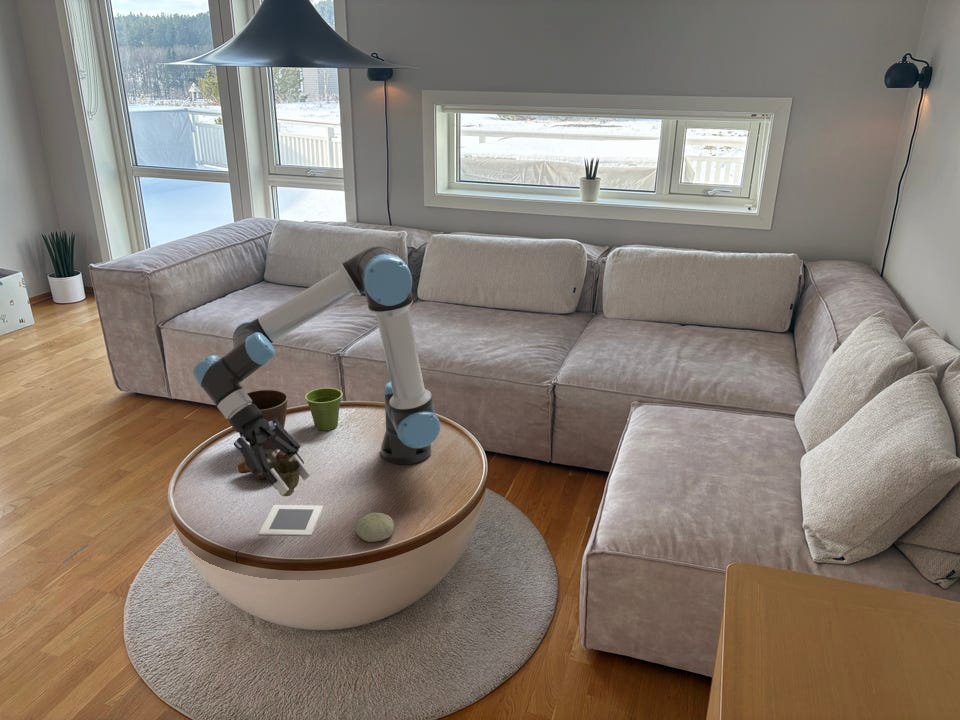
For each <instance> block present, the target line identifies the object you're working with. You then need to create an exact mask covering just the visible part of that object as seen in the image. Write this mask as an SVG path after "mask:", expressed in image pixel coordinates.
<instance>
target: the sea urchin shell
mask: <svg viewBox="0 0 960 720" xmlns="http://www.w3.org/2000/svg"><path fill="white" fill-rule="evenodd" d="M394 529H395V522H394V520H393V519H392V517H391V516H389V515H388V514H386V513H384V512H383V513H382V512H374V511H373V512H370V513H367V514H365V515H363V516H362V517H361V518H360V519H359V520H357V521H356V524H355V532H356V534H357V535H358V537H359V538H360V539H362V540H363V541H365V542H367V543H368V542H369V543H373V542H376V543H377V542H378V541H379V542H380V541H384V540H387V539H389V538H390V537H391V536H392V534H393V533H394Z"/></svg>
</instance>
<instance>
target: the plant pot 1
mask: <svg viewBox="0 0 960 720" xmlns="http://www.w3.org/2000/svg"><path fill="white" fill-rule="evenodd" d="M246 393H247V394H248V396H249V397H250V398H251V400H252V404H255V405H256V406H257V408H258V409H259V410H260V411H261V413H262V416H263V418H264V419H265V420H266V421H268V422H269V421H273V420H274V419H275V418H276V419H278V421H279V423H280V425H281V426H282V427H283V428H284V429H285V425H286V419H287V410H288V395H287V394H285V392H283V391H280V390H275V389H261V390H260V389H259V390H256V391H255V390H254V391H250V392H246ZM262 447H263V450H265V449H270V450H274V451H276V450H278V449H277V448H276V447H274V446H273V445H272V444H270V443H266V442H265V441H264V442H262Z"/></svg>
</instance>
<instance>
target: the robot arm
mask: <svg viewBox="0 0 960 720" xmlns="http://www.w3.org/2000/svg"><path fill="white" fill-rule="evenodd" d="M412 288H413V277H412V273H411V270H410V268H409V266H408V265H407V263H406V262H405V260H403V259H401V258H400V257H399V256H398V255H397V254H396V252H395V251H393V250H392V249H390V248H388V247H385V246H381V245H378V246H371V247H369V248H366V249H364V250H362V251H361V252H359V253H357V254H356V255H354V256H352V257H351V258H349V259H348V260H345V261H344V262H342V263H341V264H340V267H339V269H338V270H336V271H335V272H333V273H331V274H330V275H328V276H325V278H323V279H321V280H320V281H317V282H316V283H314V284H313V285H312V286H310V287H308V288H306V289H305V290H303V291H301V292H299V293H298V294H296V295H295V296H292V297H291V298H289V299H288V300H285V301H284V302H283V303H280V304H279V305H277V306H276V307H274V308H272V309H271V310H268V311H267V312H266V313H264V314H262V315H261V316H258V317H257V318H255V319H254V320H251V321H243V322H241V323H240V324H238V325H237V326H236V328H235V330H234V331H233V336H232V342H233V349H231V350H230V351H229V352H228V353H226V354H225V355H224V356H222V357H219V356H218V355H216V354H213V355H209V356H207V357H206V358H204V359H202V360H200V361H199V362H198V363H197V364H196V365H195V366H194V367H193V370H192V374H193V376H194V378H195V379H196V382H198V384H199V386H200V387H201V388H202V389H203V391H204V392H205V393H206V395H207V396H208V397H209V398H210V400H211V401H212V402H213V403H214V404H215V406H216V408H218V410H219V411H220V412H221V414H222V415H223V417H224V418H225V419H226V420H229V421H228V423H229V424H230V425H231V427H232V428H233V430H234V432H236V433H239V436H240V437H238V438H237V439H236V440H235V441H234V442H233V446H234V448H236V449H237V450H239V452H240V454H241V455H242V457H243V459H244V461H246V462H247V464H248V466H249V468H250V469H251V471H252V473H253V474H254V475H253V474H252V473H251V474H252V475H253V476H254V477H255V476H258V475H260V476H263V475H264V476H265V478H264V479H266V480H267V482H268V483H269V485H270V486H273V485H274V486H275V487H276V488H275V487H274V486H273V487H274V488H275V490H277V491H278V494H279V495H280V494H281V495H283V494H285V493H286V492H287V491H288V490H289V488H288V487H287V485H286V484H285V483H284V481H283V480H282V479H281V478H280V476H279V475H278V474H277V472H276V471H275V470H274V468H272V469H271V470H269V469H270V468H269V465H268V462H267V459H266V456H265V453H264V450H263V447H262V442H264V441H265V442H266V443H270V444H272V445H273V446H274V447H276V448H277V449H276V450H278V451H282V452H283V453H284V454H286V455H287V456H289V457H290V459H289V462H290V461H291V462H292V460H293V459H294V460H295V461H298V462H299V464H300V473H299V477H301V479H302V480H303V481H306V480H307V479H308V478H309V477H310V476H311V475H312V473H311V472H310V470H309V469H308V468H307V467H306V465H305V461H304V459H303V458H302V457H301V456H300V455H299V454H298V453H299V451H300V450H299V449H301V445H300V443H299V442H298V441H296V440H295V438H294V437H293V436H292V435H291V434H290V433H289V432H288V431H287V430H286V429H285V427H284V428H283V427H282V426H281V425H280V423H279V421H278V419H276V418H275V419H274V420H273V421H269V422H268V421H266V420H265V419H264V418H263V416H262V413H261V411H260V410H259V409H258V408H257V406H256V405H255V404H252V400H251V398H250V397H249V396H248V394H247V393H248V392H246V390H245V389H244V388H243V386H241V384H240V383H241V382H243V381H244V380H246V379H247V378H248V377H249V376H251V375H252V374H253V373H255V372H256V371H257V370H259V369H260V368H261V367H263V366H264V365H266V364H268V362H269V361H270V360H271V359H272V358H273V357H274V356H275V354H276V349H275V348H274V346H273V343H274V342H276V341H278V340H279V339H280V338H283V337H284V336H286V335H288V334H290V333H291V332H293V331H295V330H296V329H298V328H300V327H301V326H303V325H304V324H307V323H308V322H309V321H312V320H313V319H315V318H317V317H318V316H320V315H322V314H323V313H325V312H326V311H328V310H330V309H332V308H333V307H336V306H337V305H338V304H340V303H342V302H343V301H345V300H347V299H348V298H350V297H352V296H354V295H357V296H361V295H363V294H365V299H366V302H367V303H366V304H367V308H368V311H369V312H371V313H373V314H375V316H376V320H377V321H376V322H377V325H378V330H379V335H380V339H381V344H382V348H383V352H384V358H385V361H386V367H387V371H388V375H389V376H388V377H389V380H390V381H388V382H387V383H386V384H385V386H384V393H383V395H384V411H385V414H384V415H385V432H384V435H383V437H382V438H383V439H382V442H381V446H380V455H381V457H382V458H383V460H386V461H387V462H388V463H393V464H398V465H412V464H417V463H420V462H423V461H425V460H427V459H428V458H429V457H430V456H431V455H432V443H434V442H435V440H436V439H437V438H438V436H439V435H440V431H441V423H440V419H439V417H438V416H437V415H436V412H435V406H434V401H433V397H432V393H431V391H430V390H429V389H426V388H425V383H424V379H423V378H424V377H423V375H422V370H421V369H422V368H421V364H420V359H419V355H418V354H419V353H418V349H417V344H416V340H415V339H416V338H415V334H414V329H413V323H412V318H411V312H410V307H411V306H412V304H413V303H414V298H413V293H412ZM430 454H431V455H430ZM429 455H430V456H429ZM428 456H429V457H428ZM426 458H427V459H426ZM281 495H280V496H281Z"/></svg>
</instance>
